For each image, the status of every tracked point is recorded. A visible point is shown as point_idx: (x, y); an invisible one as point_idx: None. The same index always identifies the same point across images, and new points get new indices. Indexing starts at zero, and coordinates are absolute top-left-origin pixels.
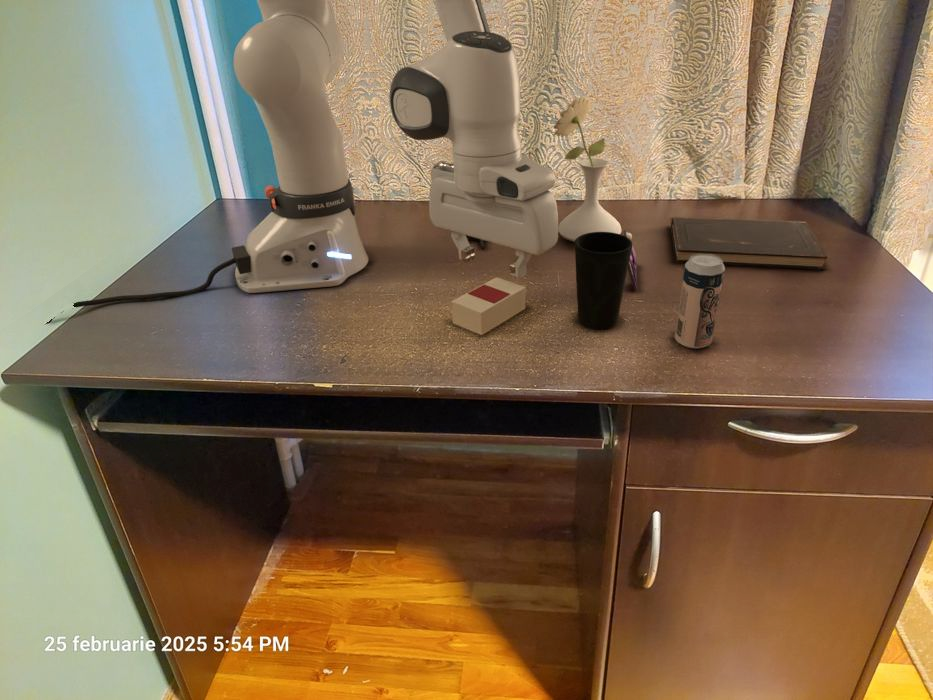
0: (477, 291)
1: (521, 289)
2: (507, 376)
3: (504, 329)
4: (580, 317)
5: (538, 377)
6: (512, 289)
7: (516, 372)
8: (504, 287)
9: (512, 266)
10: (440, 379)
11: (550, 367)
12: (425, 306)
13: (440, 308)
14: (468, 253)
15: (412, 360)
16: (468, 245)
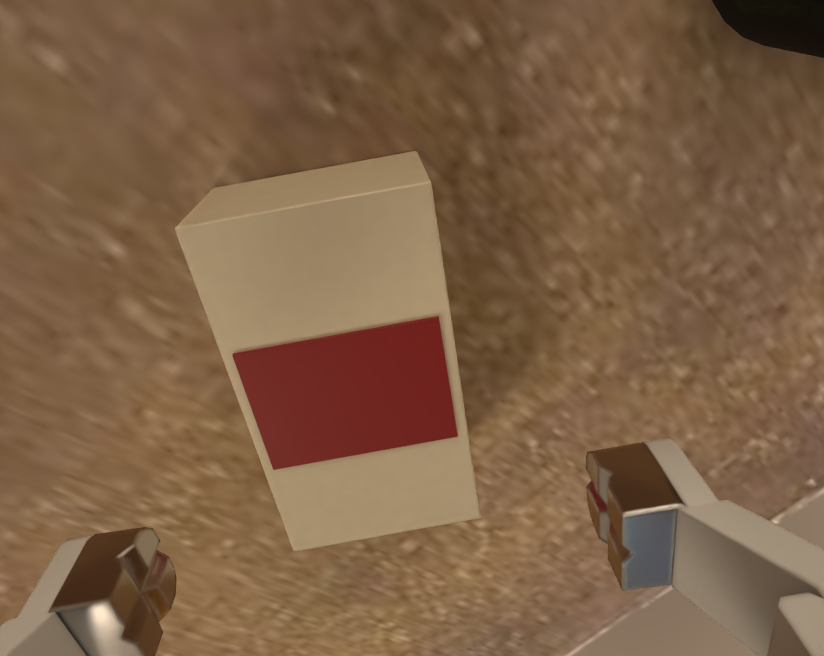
0: (290, 428)
1: (436, 223)
2: None
3: (491, 351)
4: (779, 46)
5: (798, 451)
6: (396, 266)
7: (721, 482)
8: (342, 286)
9: (646, 582)
10: (561, 632)
11: (805, 391)
12: (96, 475)
13: (151, 442)
14: (148, 625)
15: (423, 643)
16: (52, 632)
